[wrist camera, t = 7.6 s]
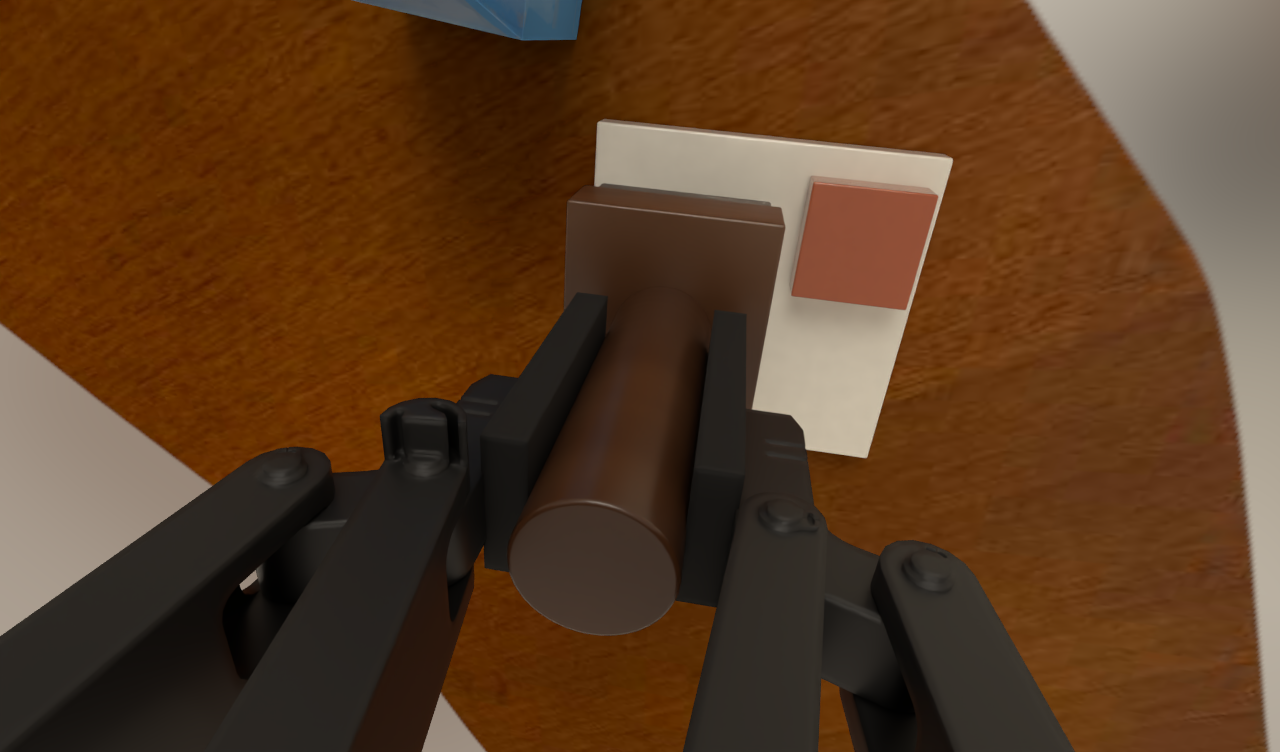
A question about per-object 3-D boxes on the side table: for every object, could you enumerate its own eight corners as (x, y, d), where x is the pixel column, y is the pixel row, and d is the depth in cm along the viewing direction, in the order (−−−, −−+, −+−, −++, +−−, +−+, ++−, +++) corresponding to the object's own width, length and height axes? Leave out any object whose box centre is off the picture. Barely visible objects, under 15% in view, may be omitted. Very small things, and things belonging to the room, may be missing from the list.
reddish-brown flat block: (810, 174, 23) (813, 181, 22) (930, 187, 22) (939, 195, 21) (788, 285, 24) (790, 296, 23) (899, 299, 24) (906, 311, 23)
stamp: (595, 174, 19) (393, 350, 8) (780, 195, 19) (825, 411, 8) (585, 368, 22) (429, 686, 11) (745, 390, 22) (743, 745, 11)
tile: (602, 118, 24) (596, 121, 23) (946, 153, 23) (954, 158, 22) (587, 406, 29) (582, 418, 28) (863, 446, 28) (867, 459, 27)
